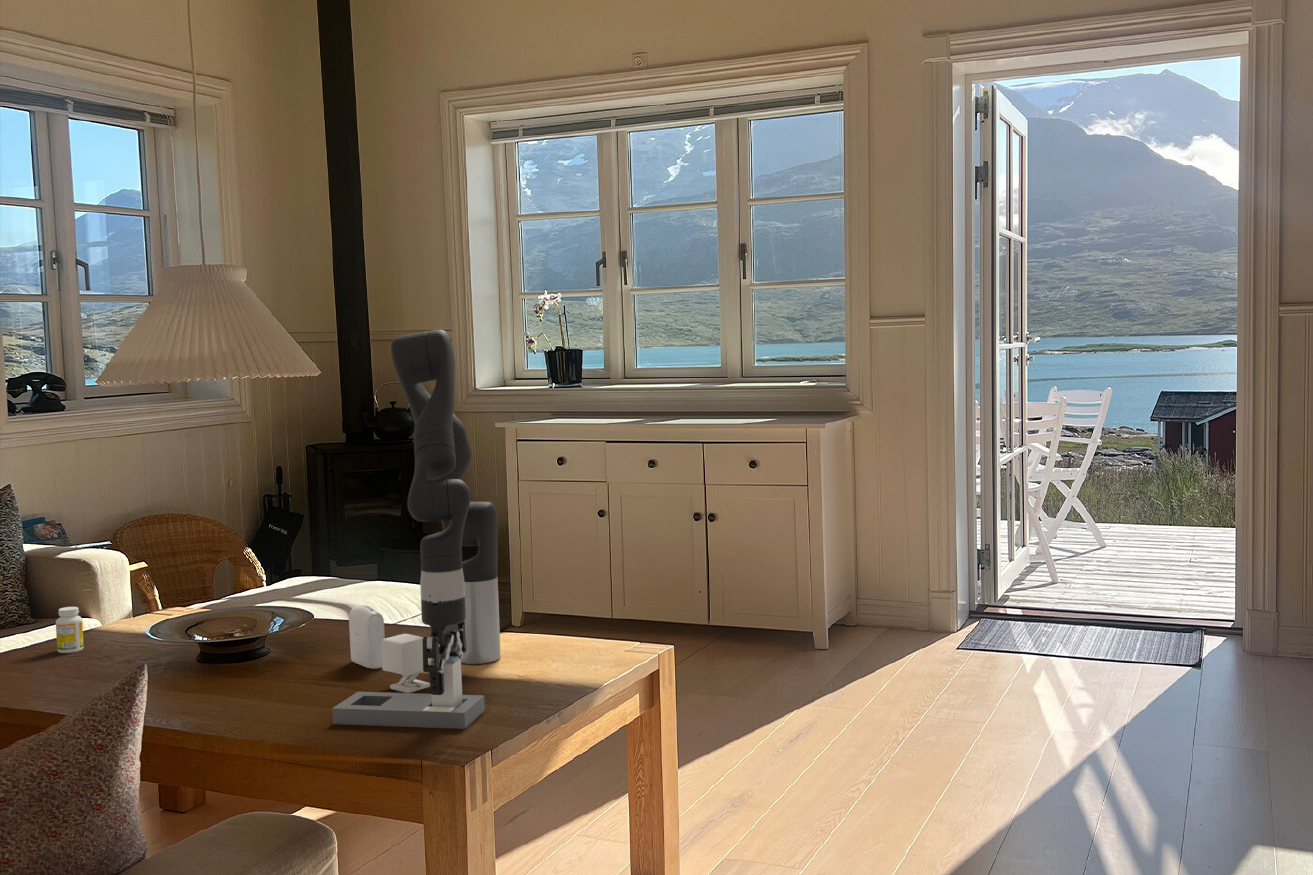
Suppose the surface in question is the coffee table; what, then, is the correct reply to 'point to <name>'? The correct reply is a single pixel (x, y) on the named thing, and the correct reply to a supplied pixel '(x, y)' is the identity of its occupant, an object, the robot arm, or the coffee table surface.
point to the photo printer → (366, 636)
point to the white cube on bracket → (404, 661)
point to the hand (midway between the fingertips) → (446, 687)
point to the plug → (450, 685)
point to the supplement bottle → (69, 630)
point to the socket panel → (406, 710)
